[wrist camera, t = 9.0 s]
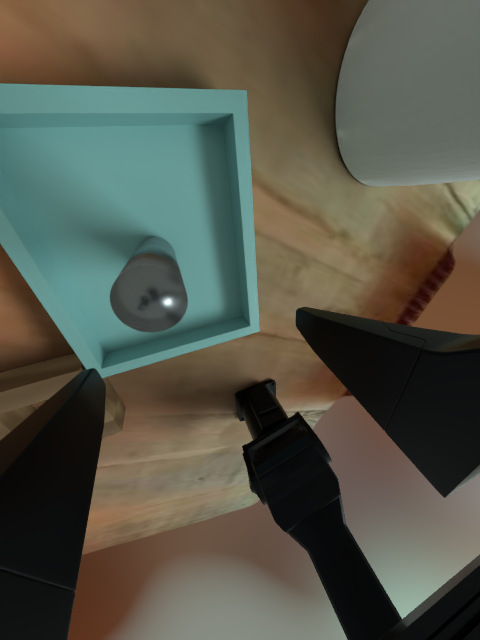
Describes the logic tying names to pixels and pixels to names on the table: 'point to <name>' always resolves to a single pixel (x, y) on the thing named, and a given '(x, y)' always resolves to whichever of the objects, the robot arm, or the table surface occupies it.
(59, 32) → the table surface
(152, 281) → the pin
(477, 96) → the utensil holder
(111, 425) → the pin holder
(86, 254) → the tray
